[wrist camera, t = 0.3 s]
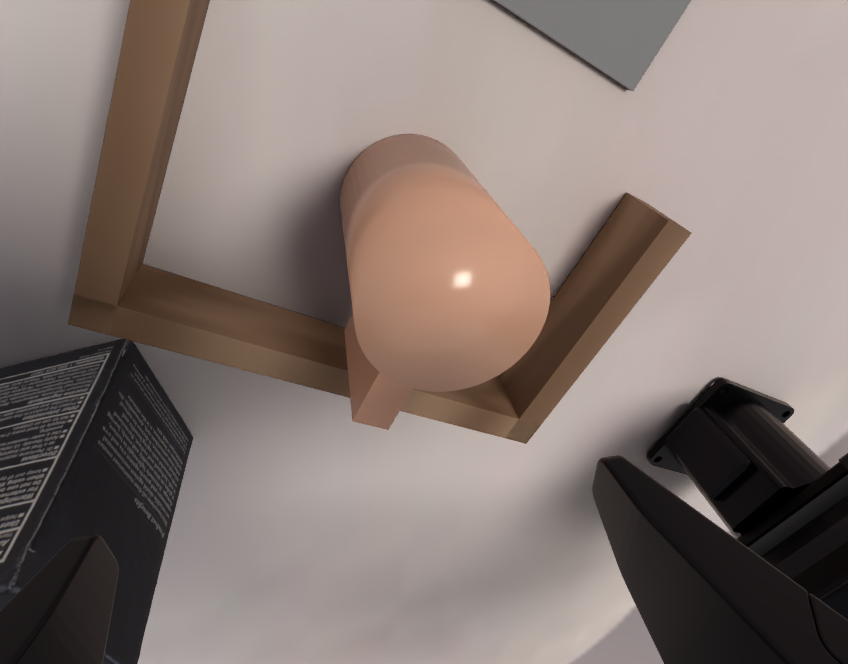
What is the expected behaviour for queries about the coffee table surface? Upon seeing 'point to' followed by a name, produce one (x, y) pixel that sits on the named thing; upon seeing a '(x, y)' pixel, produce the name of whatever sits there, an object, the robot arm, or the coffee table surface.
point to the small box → (90, 473)
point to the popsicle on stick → (431, 278)
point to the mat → (605, 30)
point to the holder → (289, 331)
